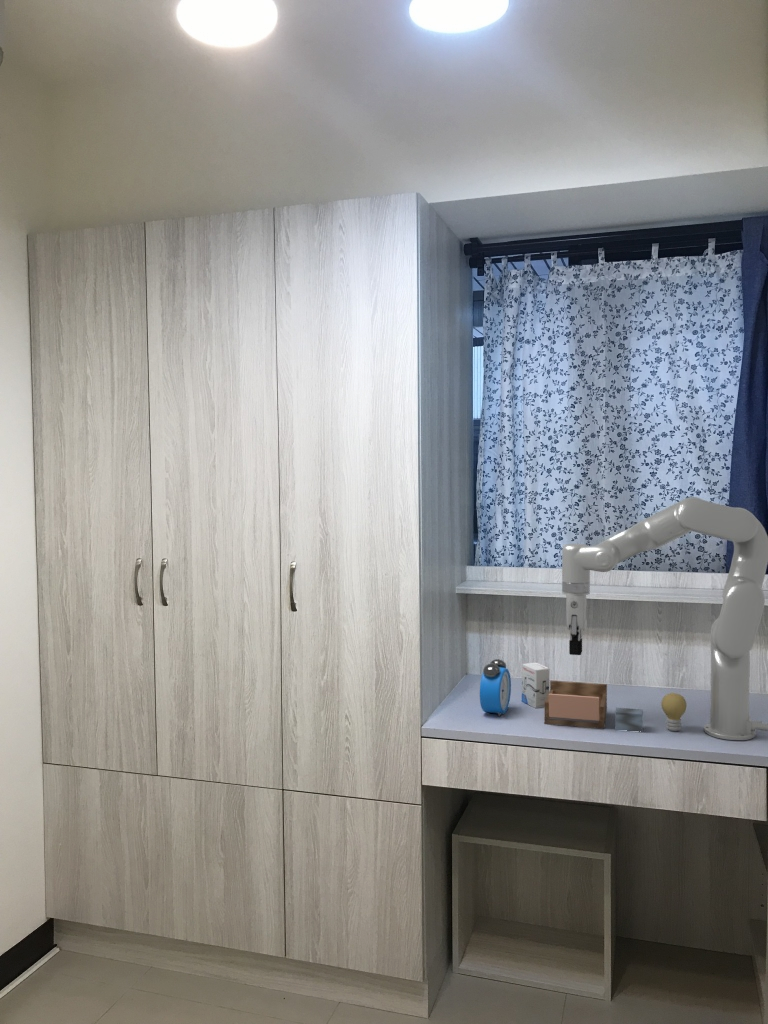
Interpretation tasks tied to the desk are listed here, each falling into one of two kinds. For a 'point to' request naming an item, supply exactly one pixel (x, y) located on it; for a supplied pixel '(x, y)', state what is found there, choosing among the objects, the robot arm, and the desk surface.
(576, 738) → the desk surface
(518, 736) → the desk surface
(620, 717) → the blue gray block
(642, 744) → the desk surface
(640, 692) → the desk surface
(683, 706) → the light bulb
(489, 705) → the alarm clock
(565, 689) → the brown open box
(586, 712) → the panel
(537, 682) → the ink box
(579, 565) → the robot arm
